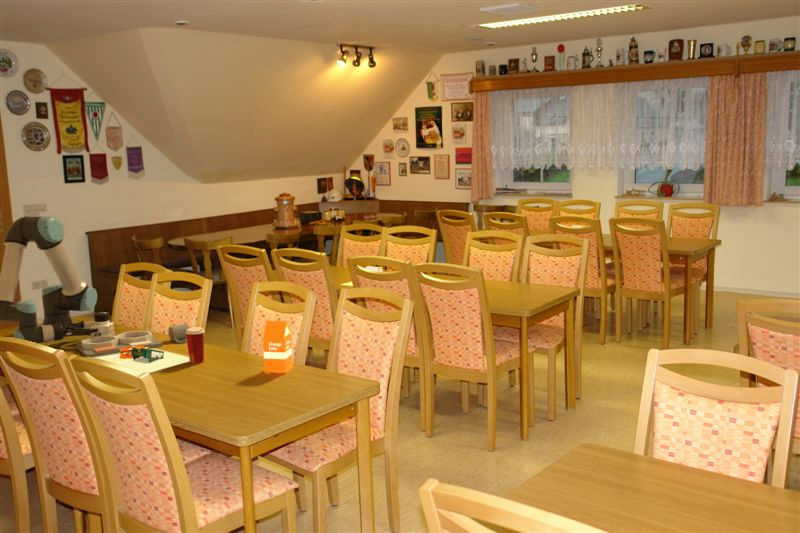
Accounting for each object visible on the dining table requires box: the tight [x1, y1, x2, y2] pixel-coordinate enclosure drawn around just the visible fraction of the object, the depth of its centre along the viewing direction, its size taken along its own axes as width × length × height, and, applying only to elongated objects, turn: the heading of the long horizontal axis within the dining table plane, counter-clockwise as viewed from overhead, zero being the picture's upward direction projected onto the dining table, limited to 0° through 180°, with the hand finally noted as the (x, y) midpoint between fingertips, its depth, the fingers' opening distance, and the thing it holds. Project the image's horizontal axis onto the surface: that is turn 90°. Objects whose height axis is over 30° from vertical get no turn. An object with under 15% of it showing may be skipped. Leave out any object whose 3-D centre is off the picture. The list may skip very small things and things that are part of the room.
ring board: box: [76, 330, 163, 358], centre depth 347 cm, size 22×32×4 cm
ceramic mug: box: [168, 322, 189, 344], centre depth 355 cm, size 11×8×8 cm
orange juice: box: [262, 320, 293, 373], centre depth 301 cm, size 8×9×20 cm
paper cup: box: [185, 326, 206, 365], centre depth 317 cm, size 8×8×14 cm
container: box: [91, 311, 116, 337], centre depth 359 cm, size 8×8×13 cm
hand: (102, 326), depth 359 cm, fingers open, 13 cm apart
